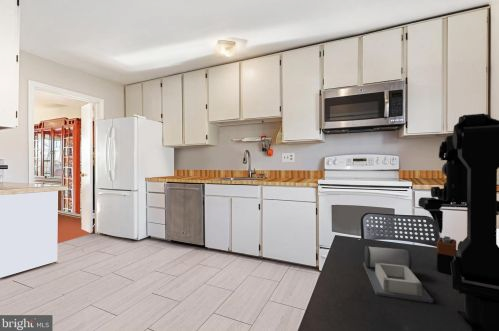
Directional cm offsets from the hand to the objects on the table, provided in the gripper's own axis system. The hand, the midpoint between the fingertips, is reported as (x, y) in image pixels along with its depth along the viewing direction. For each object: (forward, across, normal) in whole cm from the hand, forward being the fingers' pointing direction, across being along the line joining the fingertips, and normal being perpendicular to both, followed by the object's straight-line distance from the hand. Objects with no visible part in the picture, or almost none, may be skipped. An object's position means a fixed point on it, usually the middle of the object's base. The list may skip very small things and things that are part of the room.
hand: (458, 233), depth 72 cm
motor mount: (+12, +19, +9) cm, 24 cm away
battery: (+13, +1, -4) cm, 13 cm away
